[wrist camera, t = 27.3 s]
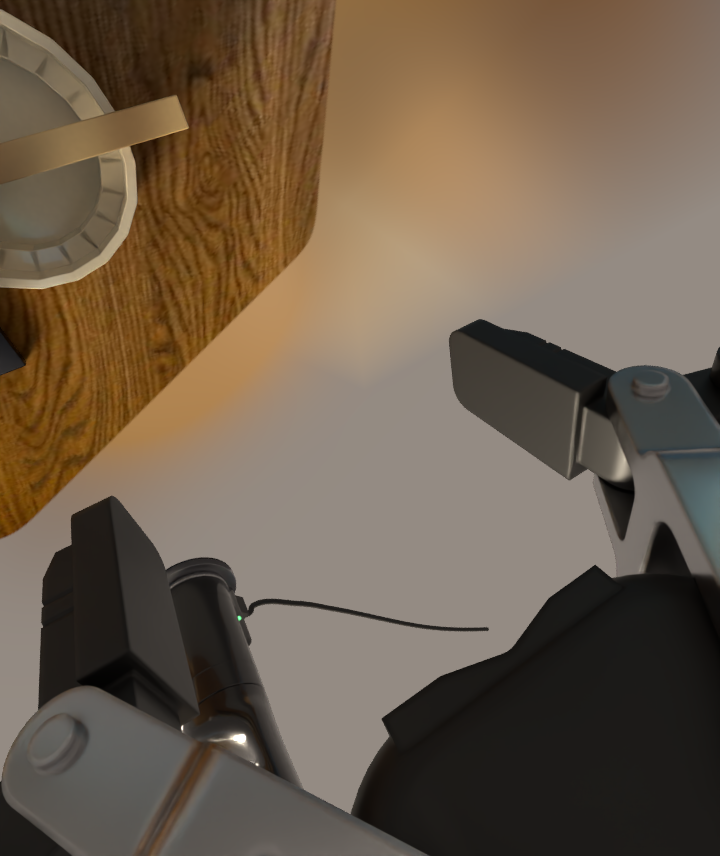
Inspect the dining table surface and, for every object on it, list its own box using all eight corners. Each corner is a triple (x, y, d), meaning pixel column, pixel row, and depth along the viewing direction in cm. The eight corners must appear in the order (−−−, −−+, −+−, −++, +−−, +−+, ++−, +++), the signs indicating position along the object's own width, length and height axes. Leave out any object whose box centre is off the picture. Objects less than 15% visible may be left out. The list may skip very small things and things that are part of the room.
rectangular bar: (171, 95, 33) (176, 94, 32) (184, 128, 35) (189, 128, 33) (-227, 205, 27) (-243, 210, 26) (-194, 240, 28) (-208, 247, 27)
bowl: (168, 158, 40) (182, 162, 36) (55, 309, 41) (55, 331, 37) (-64, -59, 29) (-86, -92, 25) (-207, 156, 30) (-253, 161, 26)
